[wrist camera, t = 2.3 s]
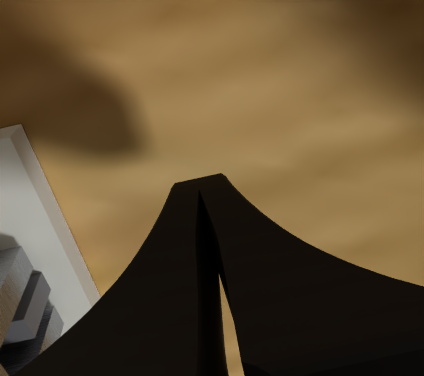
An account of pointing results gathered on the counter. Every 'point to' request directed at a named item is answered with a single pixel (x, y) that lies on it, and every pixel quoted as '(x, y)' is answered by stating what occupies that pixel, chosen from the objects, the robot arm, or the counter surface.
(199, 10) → the counter surface
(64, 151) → the counter surface
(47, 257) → the rail board
